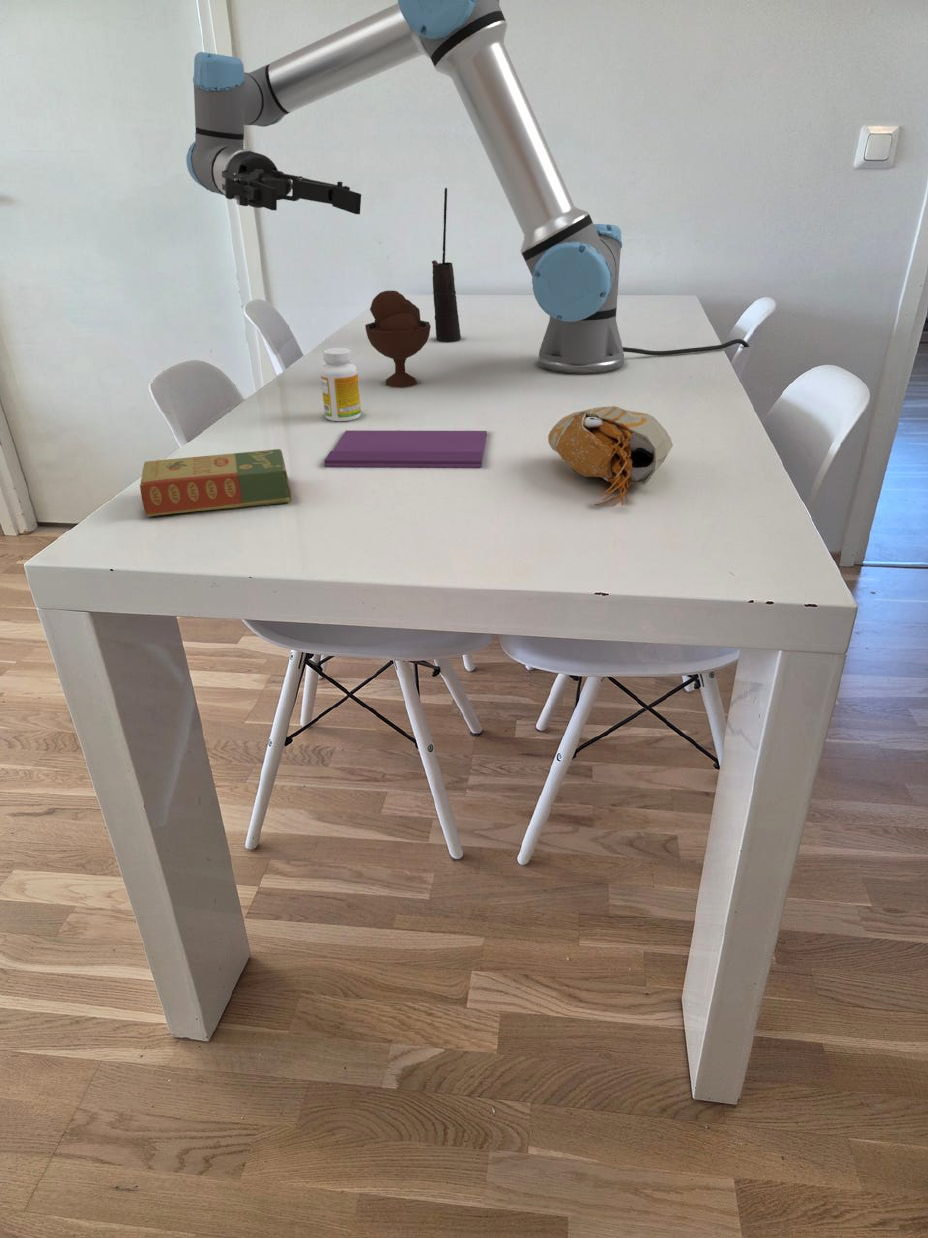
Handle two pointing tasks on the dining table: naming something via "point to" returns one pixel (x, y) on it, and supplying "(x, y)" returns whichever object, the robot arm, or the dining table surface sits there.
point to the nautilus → (612, 445)
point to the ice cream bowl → (397, 333)
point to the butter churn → (445, 295)
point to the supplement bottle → (340, 386)
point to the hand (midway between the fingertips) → (318, 201)
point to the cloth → (408, 449)
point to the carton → (214, 482)
